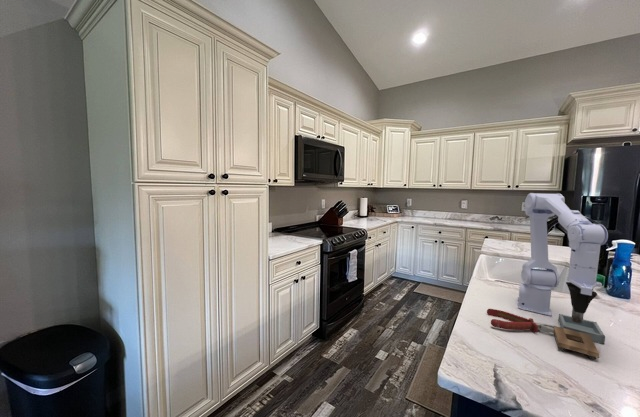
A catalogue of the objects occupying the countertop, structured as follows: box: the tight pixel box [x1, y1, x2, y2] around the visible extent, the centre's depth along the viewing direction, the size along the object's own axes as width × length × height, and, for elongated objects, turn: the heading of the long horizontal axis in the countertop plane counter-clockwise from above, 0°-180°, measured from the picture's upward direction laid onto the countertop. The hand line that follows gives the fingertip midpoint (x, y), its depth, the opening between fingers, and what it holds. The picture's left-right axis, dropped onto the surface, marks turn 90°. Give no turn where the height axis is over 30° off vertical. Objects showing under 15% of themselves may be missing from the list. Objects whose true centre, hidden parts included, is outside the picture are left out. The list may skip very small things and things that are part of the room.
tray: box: [557, 313, 606, 345], centre depth 83 cm, size 9×10×2 cm
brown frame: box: [553, 325, 600, 360], centre depth 75 cm, size 8×11×2 cm
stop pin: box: [571, 307, 585, 324], centre depth 75 cm, size 3×3×8 cm
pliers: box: [486, 308, 555, 334], centre depth 84 cm, size 12×20×3 cm, turn 63°
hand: (578, 310), depth 75 cm, fingers closed on stop pin, 2 cm apart
